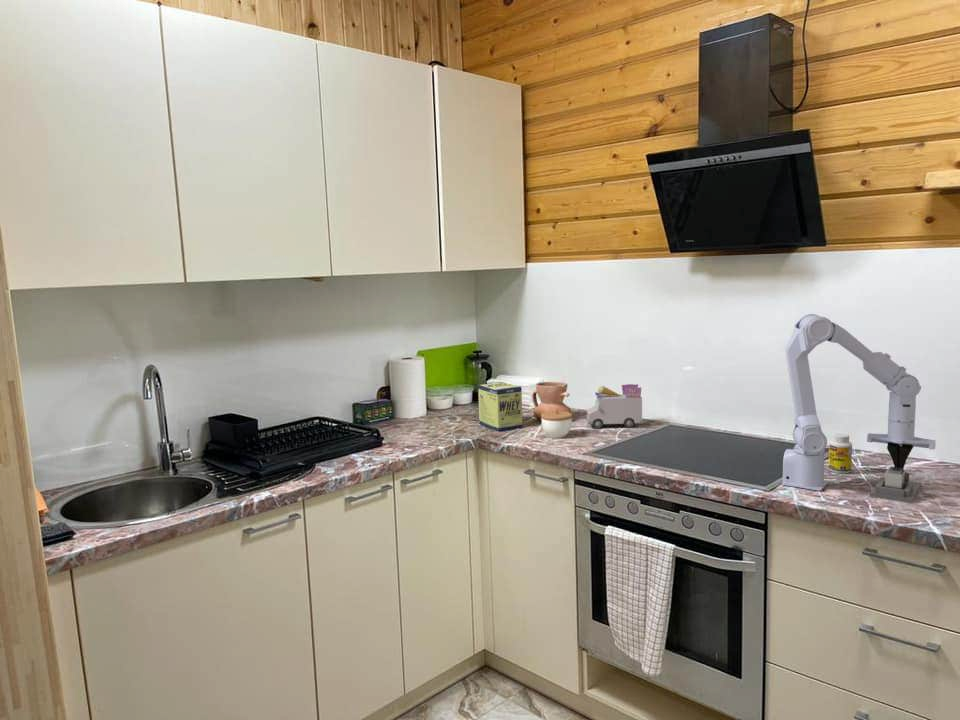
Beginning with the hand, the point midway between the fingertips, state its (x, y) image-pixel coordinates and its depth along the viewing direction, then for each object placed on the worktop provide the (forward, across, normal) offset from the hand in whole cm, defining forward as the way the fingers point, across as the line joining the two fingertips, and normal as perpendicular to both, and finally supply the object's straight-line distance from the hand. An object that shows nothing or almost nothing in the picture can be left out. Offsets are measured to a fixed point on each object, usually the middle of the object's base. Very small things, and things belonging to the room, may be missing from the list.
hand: (899, 472), depth 175 cm
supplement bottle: (+4, -15, +8) cm, 17 cm away
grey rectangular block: (+3, 0, -7) cm, 7 cm away
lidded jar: (+4, -103, +2) cm, 103 cm away
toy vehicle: (+4, -93, +24) cm, 96 cm away
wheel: (+2, 0, 0) cm, 2 cm away
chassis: (+4, 0, -4) cm, 5 cm away
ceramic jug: (+4, -119, +22) cm, 121 cm away
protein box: (+4, -129, +4) cm, 129 cm away
